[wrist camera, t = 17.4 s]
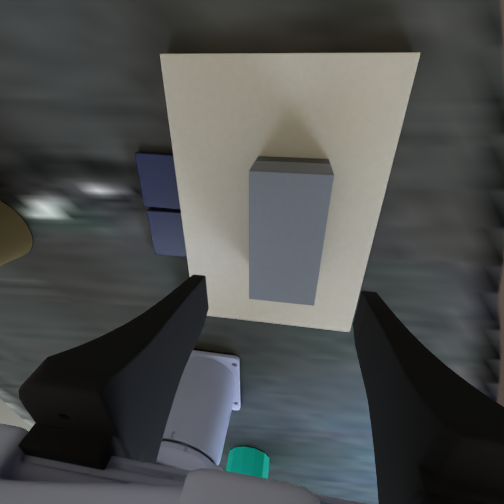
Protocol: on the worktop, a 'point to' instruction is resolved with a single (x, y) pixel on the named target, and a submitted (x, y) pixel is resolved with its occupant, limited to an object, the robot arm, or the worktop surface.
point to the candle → (248, 462)
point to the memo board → (283, 145)
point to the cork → (13, 235)
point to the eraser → (287, 227)
